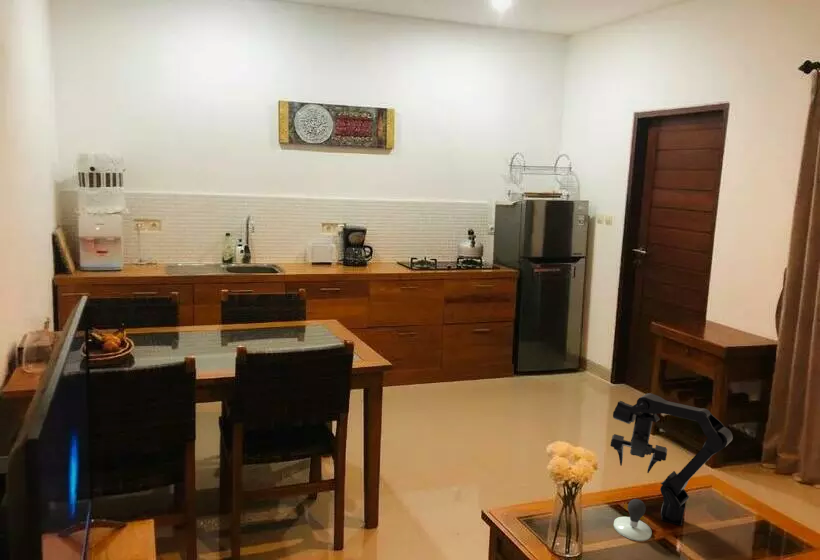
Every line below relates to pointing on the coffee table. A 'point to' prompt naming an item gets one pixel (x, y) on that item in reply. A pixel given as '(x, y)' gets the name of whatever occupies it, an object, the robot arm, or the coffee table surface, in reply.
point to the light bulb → (636, 511)
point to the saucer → (632, 529)
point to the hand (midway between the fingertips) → (634, 468)
